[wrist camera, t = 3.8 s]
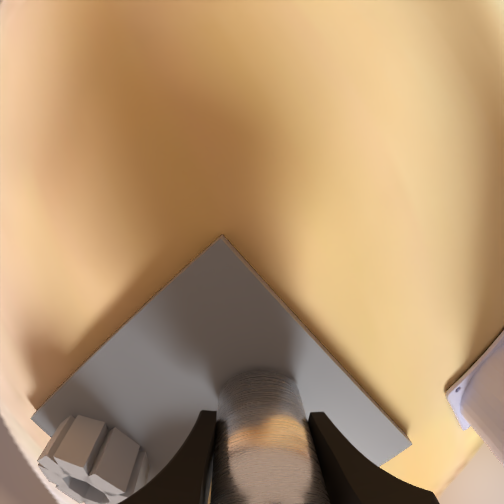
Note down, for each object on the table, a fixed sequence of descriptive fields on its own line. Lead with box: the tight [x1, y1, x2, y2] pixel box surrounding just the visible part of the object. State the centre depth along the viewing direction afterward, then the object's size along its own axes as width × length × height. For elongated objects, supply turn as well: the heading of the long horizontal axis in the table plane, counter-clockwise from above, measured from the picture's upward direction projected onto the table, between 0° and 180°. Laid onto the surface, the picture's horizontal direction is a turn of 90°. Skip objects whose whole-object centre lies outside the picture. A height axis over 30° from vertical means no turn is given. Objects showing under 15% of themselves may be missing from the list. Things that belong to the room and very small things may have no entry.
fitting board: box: [31, 234, 412, 504], centre depth 13 cm, size 20×20×5 cm
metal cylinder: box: [210, 370, 330, 504], centre depth 10 cm, size 4×4×7 cm
